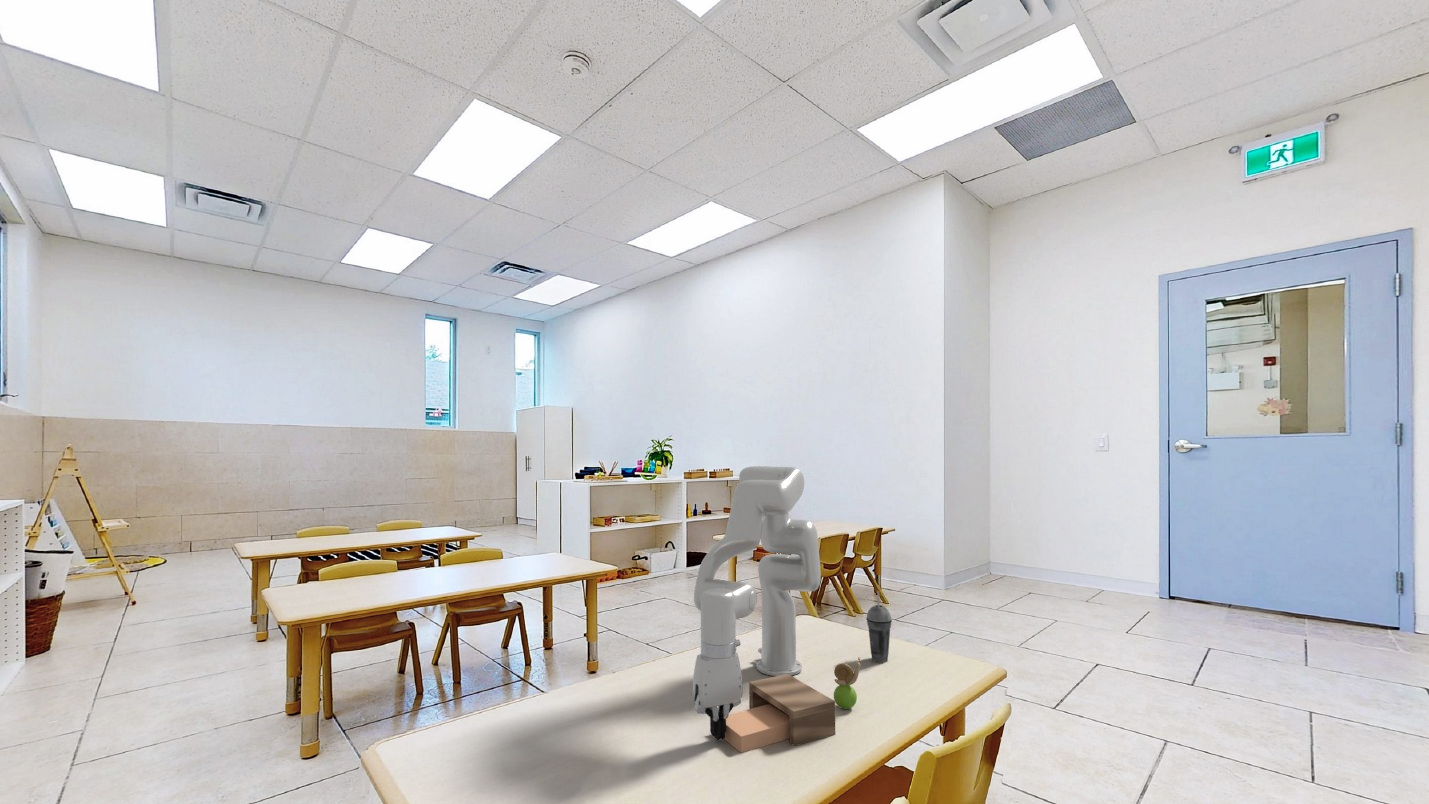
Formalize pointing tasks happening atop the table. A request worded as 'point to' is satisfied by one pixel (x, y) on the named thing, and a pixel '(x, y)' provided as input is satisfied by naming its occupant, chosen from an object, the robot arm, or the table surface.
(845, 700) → the snail figurine
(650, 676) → the table surface
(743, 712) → the peach tile
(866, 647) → the table surface
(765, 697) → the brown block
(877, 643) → the beverage cup
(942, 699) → the table surface
